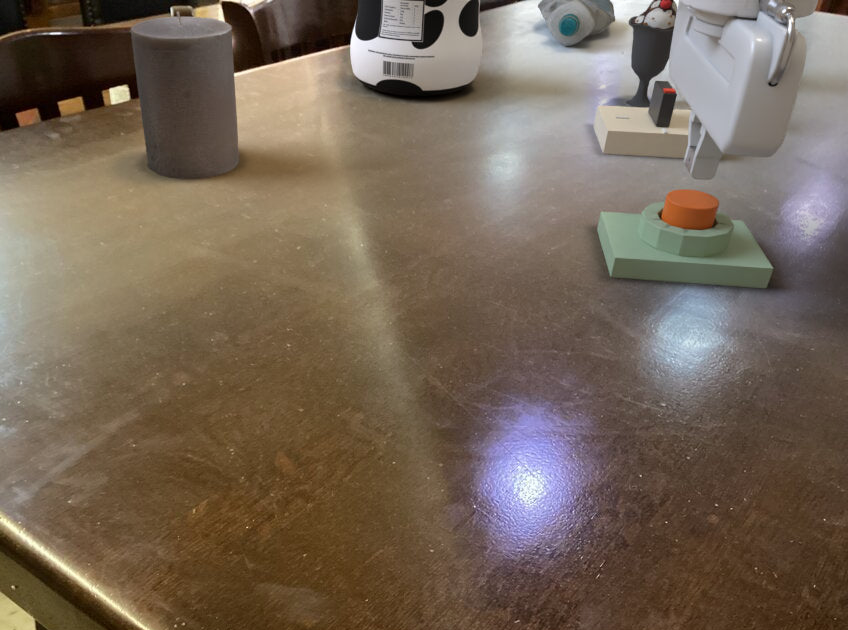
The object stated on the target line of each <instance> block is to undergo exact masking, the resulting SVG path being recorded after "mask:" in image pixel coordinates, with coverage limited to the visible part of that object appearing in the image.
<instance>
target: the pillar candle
mask: <svg viewBox="0 0 848 630" xmlns="http://www.w3.org/2000/svg"><path fill="white" fill-rule="evenodd" d="M232 30H233V26H232V25H231V24H229V23H228V22H226V21H223V20H219V19H216V18H212V17H201V16H181V14H180V11H178V10H177V11H176V16H164V17H156V18H150V19H146V20H142V21H140V22H136V23H134V25H131V27H130V36H131V45H132V51H133V62H134V69H135V75H136V77H135V78H136V85H137V92H138V97H139V98H138V100H139V106H140V114H141V122H142V123H141V124H142V129H143V135H144V145H145V151H146V158H147V159H146V160H147V164H146V167H147V168H148V169H149V170H151V171H152V172H153V173H155V174H156V175H159V176H162V177H165V178H170V179H180V180H194V179H195V180H196V179H205V178H211V177H216V176H221V175H223V174H226V173H229V172H231V171H232V170H234V169H235V168H236V167H237V166H238V165H239V163H240V153H239V134H238V133H239V132H238V115H237V98H236V83H235V82H236V81H235V66H234V63H235V62H234V51H233V50H234V49H233V34H232V33H233V31H232Z"/></svg>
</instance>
